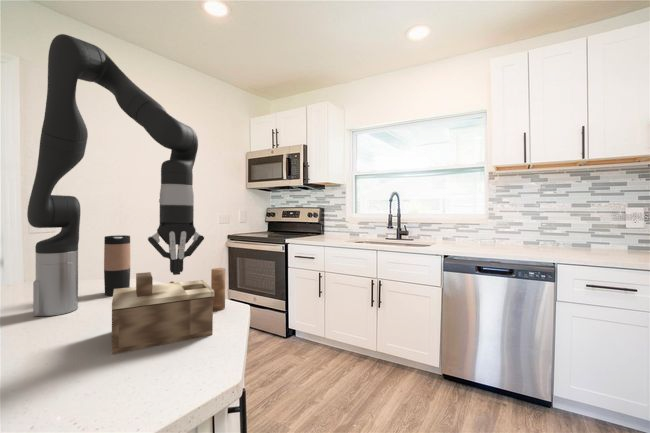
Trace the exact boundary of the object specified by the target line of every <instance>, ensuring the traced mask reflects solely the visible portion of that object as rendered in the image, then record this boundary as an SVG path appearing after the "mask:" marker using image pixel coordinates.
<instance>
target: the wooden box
mask: <svg viewBox="0 0 650 433" xmlns="http://www.w3.org/2000/svg"><path fill="white" fill-rule="evenodd" d="M198 289H201V288H198ZM189 290H193V289H189ZM213 315H214V311H213V297H205V298H197V299H190V300H182V301H175V302H167V303H160V304H152V305H144V306H137V307H129V308H122V309H114V310H112V309H111V355H116V354H121V353H126V352H132V351H135V350H136V351H137V350H140V349H141V350H142V349H146V348H151V347H157V346H160V345H161V346H162V345H168V344H171V343H177V342H181V341H186V340H192V339H198V338H202V337H207V336H212V335H213V331H214V330H213V325H214V324H213V323H214V322H213Z"/></svg>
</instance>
